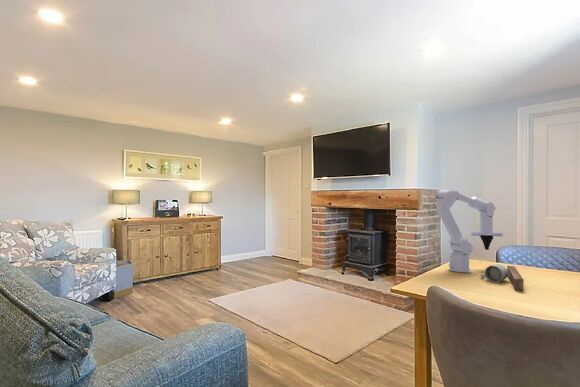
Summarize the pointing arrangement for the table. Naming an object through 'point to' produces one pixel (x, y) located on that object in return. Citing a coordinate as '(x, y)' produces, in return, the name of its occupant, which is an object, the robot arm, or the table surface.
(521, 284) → the walnut board
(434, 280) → the table surface
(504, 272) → the ceramic mug
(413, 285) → the table surface
